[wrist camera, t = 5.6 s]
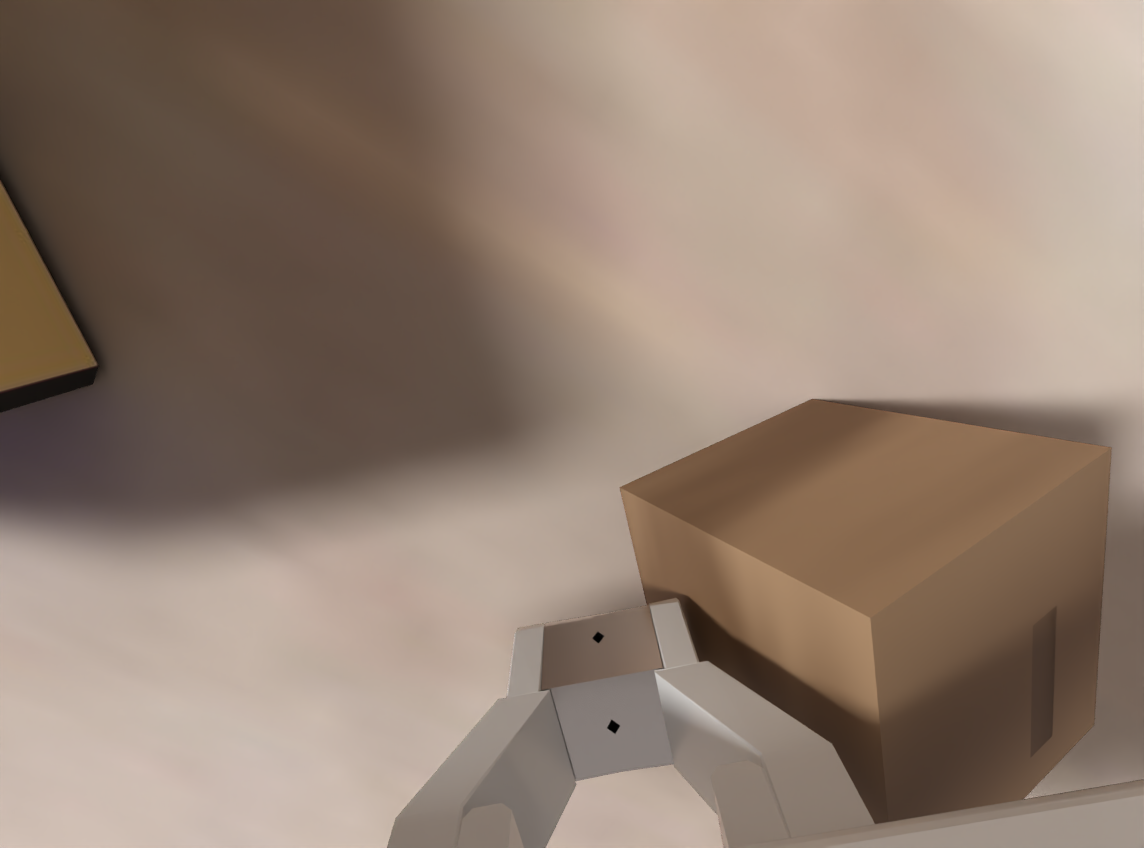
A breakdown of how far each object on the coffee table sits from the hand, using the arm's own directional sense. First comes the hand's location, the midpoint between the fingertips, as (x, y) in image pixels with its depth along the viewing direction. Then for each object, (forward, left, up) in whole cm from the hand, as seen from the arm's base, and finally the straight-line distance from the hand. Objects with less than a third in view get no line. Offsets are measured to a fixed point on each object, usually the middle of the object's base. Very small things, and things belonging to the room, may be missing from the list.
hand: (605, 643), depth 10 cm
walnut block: (0, +3, -2) cm, 4 cm away
